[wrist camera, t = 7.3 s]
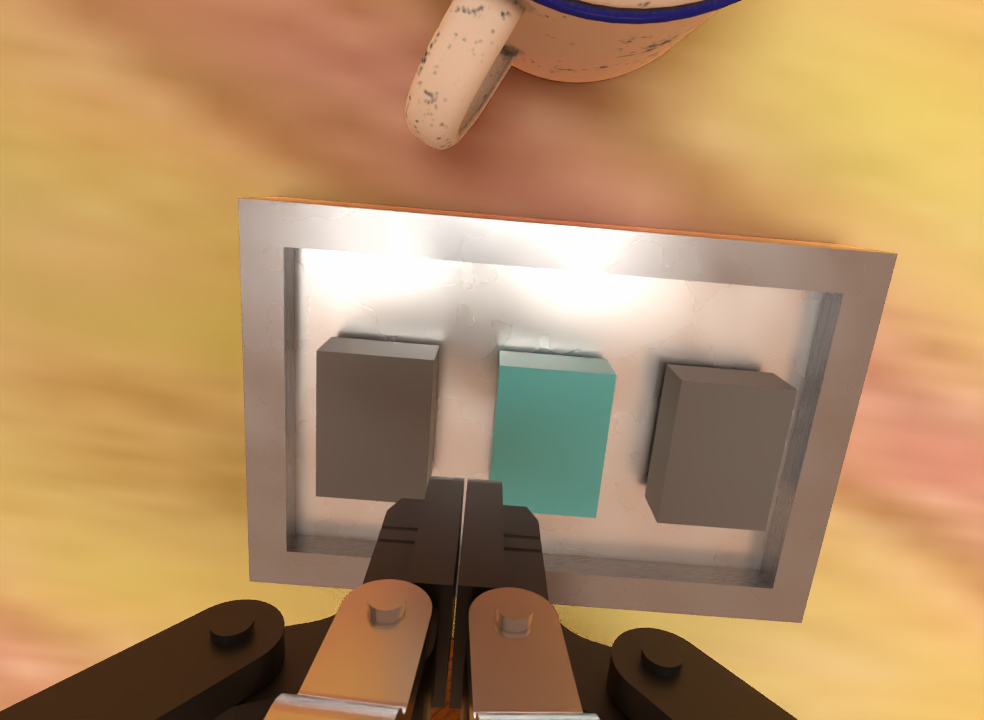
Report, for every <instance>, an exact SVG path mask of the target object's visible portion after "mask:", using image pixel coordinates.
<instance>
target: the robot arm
mask: <svg viewBox="0 0 984 720" xmlns="http://www.w3.org/2000/svg"><path fill="white" fill-rule="evenodd" d="M464 479H465V478H453V477H439V476H430V477H429V481H428V485H427V490H426V494H425V499H410V498H401V499H400V500H399V501H397V502H396V503H395V504H394V505H393V506H392V507H390V508H389V509H388V510H387V512H386V515H385V518H384V521H383V524H382V529H381V530H380V533H379V536H378V540H377V542H376V545H375V548H374V551H373V554H372V557H371V560H370V563H369V566H368V569H367V572H366V575H365V578H364V581H363V584H362V585H360V586H359V587H357V588H355V589H354V590H352V591H351V592H350V593H349V594H348V595H347V596H346V597H345V598H344V600H343V602H342V603H341V605H340V608H339V610H338V612H337V614H335V615H333V616H331V617H329V618H326V619H322V620H319V621H314V622H310V623H303V624H297V625H291V626H284V619H283V616H282V614H281V612H280V611H279V610H278V609H277V608H275V607H274V606H272V605H271V604H268V603H266V602H262V601H258V600H234V601H229V602H224V603H221V604H218V605H215V606H213V607H210V608H208V609H206V610H204V611H202V612H200V613H198V614H196V615H194V616H192V617H190V618H188V619H186V620H184V621H182V622H180V623H178V624H176V625H174V626H172V627H170V628H168V629H166V630H164V631H162V632H160V633H158V634H156V635H154V636H152V637H150V638H148V639H146V640H144V641H141V642H139V643H137V644H135V645H133V646H131V647H129V648H127V649H125V650H123V651H121V652H119V653H117V654H115V655H113V656H111V657H109V658H107V659H105V660H103V661H101V662H99V663H97V664H95V665H93V666H91V667H89V668H87V669H85V670H83V671H81V672H79V673H77V674H75V675H73V676H71V677H69V678H67V679H65V680H63V681H61V682H59V683H57V684H55V685H53V686H51V687H49V688H47V689H45V690H43V691H41V692H39V693H37V694H35V695H33V696H31V697H29V698H27V699H25V700H23V701H20V702H18V703H16V704H14V705H12V706H10V707H8V708H6V709H4V710H2V711H0V720H430V719H431V711H432V707H434V708H445V702H446V691H447V681H448V670H449V660H450V649H451V639H452V629H453V618H454V608H455V597H456V587H457V576H458V565H459V552H460V538H461V524H462V510H463V495H464ZM540 537H541V536H540V529H539V521H538V520H537V519H536V517H535V516H534V515H533V514H532V513H531V511H530V510H529V509H528V508H527V507H525V506H510V505H503V487H502V481H497V480H483V479H469V478H468V480H467V491H466V501H465V512H464V523H463V534H462V544H461V555H460V566H459V577H458V588H457V602H456V616H455V631H454V645H453V659H452V673H451V687H450V702H449V708H453V709H461V717H460V720H797V719H796V718H795V717H793V716H792V715H790V714H789V713H788V712H786V711H785V710H783V709H782V708H781V707H779V706H778V705H776V704H775V703H774V702H772V701H771V700H769V699H768V698H767V697H765V696H764V695H762V694H761V693H760V692H758V691H757V690H755V689H754V688H753V687H751V686H750V685H748V684H747V683H746V682H744V681H743V680H741V679H740V678H739V677H737V676H736V675H734V674H733V673H732V672H730V671H729V670H727V669H726V668H725V667H723V666H722V665H720V664H719V663H718V662H716V661H715V660H713V659H712V658H711V657H709V656H708V655H706V654H705V653H703V652H702V651H701V650H699V649H698V648H696V647H695V646H694V645H692V644H691V643H689V642H688V641H686V640H685V639H683V638H681V637H679V636H677V635H675V634H673V633H670V632H667V631H664V630H660V629H654V628H636V629H632V630H628V631H626V632H624V633H622V634H621V635H620V636H618V638H617V639H616V640H615V641H614V644H613V646H612V647H609V646H606V645H603V644H600V643H597V642H593V641H590V640H588V639H585V638H582V637H580V636H578V635H576V634H574V633H573V632H571V631H570V630H568V629H567V628H566V627H564V626H563V625H562V624H561V623H560V621H559V617H558V614H557V612H556V610H555V608H554V607H553V606H552V605H551V604H550V602H549V599H548V591H547V583H546V575H545V568H544V560H543V553H542V544H541V540H540Z"/></svg>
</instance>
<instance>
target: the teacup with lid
mask: <svg viewBox="0 0 984 720" xmlns="http://www.w3.org/2000/svg"><path fill="white" fill-rule="evenodd" d="M738 1H741V0H450V2H451V5H450V6H449V8H448V10H447V12H446V14H445V15H444V17H443V19H442V21H441V23H440V24H439V26H438V28H437V30H436V32H435V34H434V36H433V38H432V39H431V41H430V43H429V45H428V47H427V49H426V51H425V54H424V56H423V58H422V60H421V62H420V65H419V67H418V69H417V71H416V74H415V77H414V79H413V82H412V84H411V87H410V90H409V93H408V96H407V100H406V105H405V121H406V125H407V127H408V129H409V131H410V132H411V133H412V134H413V135H414V136H415V137H417V138H418V139H420V140H421V141H423V142H424V143H426V144H427V145H429V146H430V147H432V148H434V149H437V150H445V149H448V148H450V147H452V146H454V145H455V144H456V143H458V142H459V141H460V140H461V139H462V138H463V136H464V135H465V134H466V133H467V132H468V130H469V129H470V128H471V126H472V125H473V124H474V122H475V121H476V120H477V118H478V117H479V115H480V114H481V113H482V111H483V110H484V108H485V107H486V105H487V104H488V102H489V100H490V99H491V97H492V96H493V94H494V93H495V91H496V90H497V88H498V86H499V85H500V83H501V81H502V80H503V78H504V77H505V75H506V73H507V72H508V70H509V68H510V67H511V65H512V66H514V67H516V68H518V69H520V70H522V71H524V72H527V73H529V74H532V75H535V76H537V77H541V78H545V79H549V80H554V81H561V82H577V83H580V82H594V81H600V80H606V79H610V78H614V77H617V76H621V75H624V74H626V73H629V72H632V71H634V70H637V69H639V68H640V67H642V66H644V65H646V64H648V63H650V62H652V61H653V60H655V59H656V58H658V57H659V56H661V55H662V54H664V53H665V52H666V51H668V50H669V49H670V48H671V47H673V46H674V45H675V44H677V43H678V42H679V41H680V40H682V39H683V38H684V37H685V36H687V35H688V34H689V33H690V32H692V31H693V30H694V29H696V28H697V27H698V26H699V25H701V24H702V23H703V22H704V21H706V20H707V19H708V18H709V17H711V16H712V15H713V14H714V13H716V12H717V11H718V10H720V9H721V8H723V7H726V6H728V5H731V4H733V3H736V2H738Z"/></svg>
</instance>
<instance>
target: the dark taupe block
mask: <svg viewBox="0 0 984 720" xmlns="http://www.w3.org/2000/svg"><path fill="white" fill-rule="evenodd" d="M797 391H798V390H797V389H796V388H794V387H793V386H791V385H790V384H789V383H787V382H786V381H784V380H783V379H781V378H780V377H778V376H777V375H775V374H774V373H770V372H758V371H746V370H734V369H721V368H709V367H697V366H685V365H672V364H666V370H665V376H664V382H663V388H662V394H661V400H660V406H659V412H658V418H657V424H656V430H655V436H654V442H653V448H652V454H651V460H650V466H649V472H648V478H647V484H646V490H645V498H646V500H647V503H648V505H649V507H650V509H651V511H652V513H653V515H654V517H655V520H656V522H657V523H665V524H678V525H691V526H704V527H717V528H730V529H742V530H755V531H765V530H766V525H767V521H768V517H769V512H770V508H771V504H772V499H773V495H774V491H775V486H776V482H777V478H778V473H779V469H780V465H781V460H782V456H783V452H784V447H785V443H786V438H787V434H788V430H789V425H790V421H791V417H792V412H793V408H794V404H795V399H796V395H797Z"/></svg>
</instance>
